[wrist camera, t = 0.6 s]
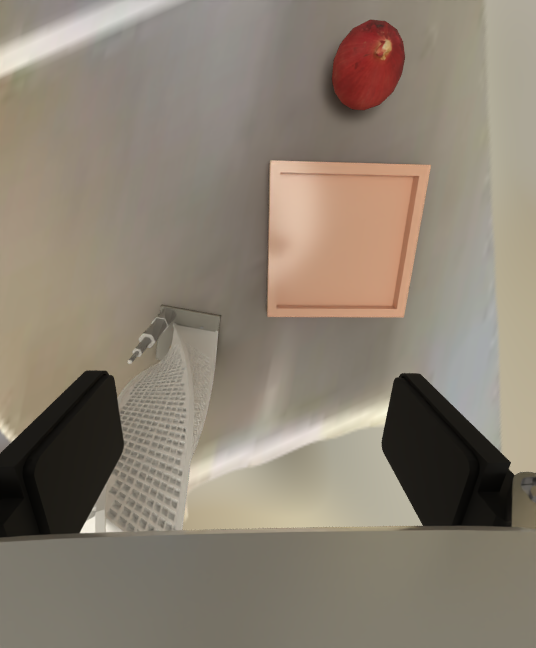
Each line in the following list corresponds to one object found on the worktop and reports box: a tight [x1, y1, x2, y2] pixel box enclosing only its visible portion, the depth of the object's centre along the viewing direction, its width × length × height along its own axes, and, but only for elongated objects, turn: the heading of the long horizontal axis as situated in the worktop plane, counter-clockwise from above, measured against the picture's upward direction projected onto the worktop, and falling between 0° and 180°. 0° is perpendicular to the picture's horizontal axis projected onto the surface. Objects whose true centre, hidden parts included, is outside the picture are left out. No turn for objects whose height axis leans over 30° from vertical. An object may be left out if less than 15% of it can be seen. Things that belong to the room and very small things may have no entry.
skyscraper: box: [80, 305, 221, 533], centre depth 25 cm, size 8×8×28 cm
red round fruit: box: [332, 20, 405, 110], centre depth 26 cm, size 6×6×8 cm
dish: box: [267, 160, 431, 317], centre depth 34 cm, size 16×16×2 cm
